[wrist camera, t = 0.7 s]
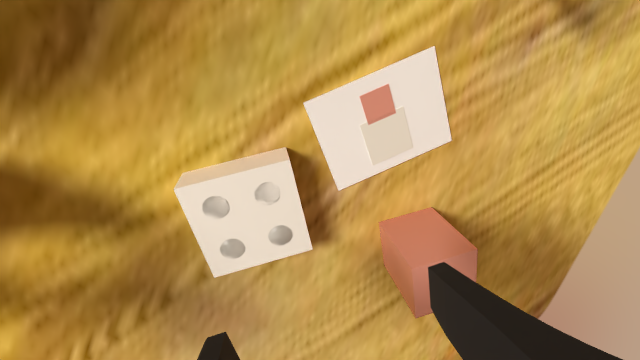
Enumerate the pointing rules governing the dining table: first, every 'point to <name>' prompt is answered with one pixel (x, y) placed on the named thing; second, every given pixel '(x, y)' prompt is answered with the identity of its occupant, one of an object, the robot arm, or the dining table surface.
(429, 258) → the red brick
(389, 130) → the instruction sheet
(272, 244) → the base brick
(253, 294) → the dining table surface
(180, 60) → the dining table surface
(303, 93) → the dining table surface
